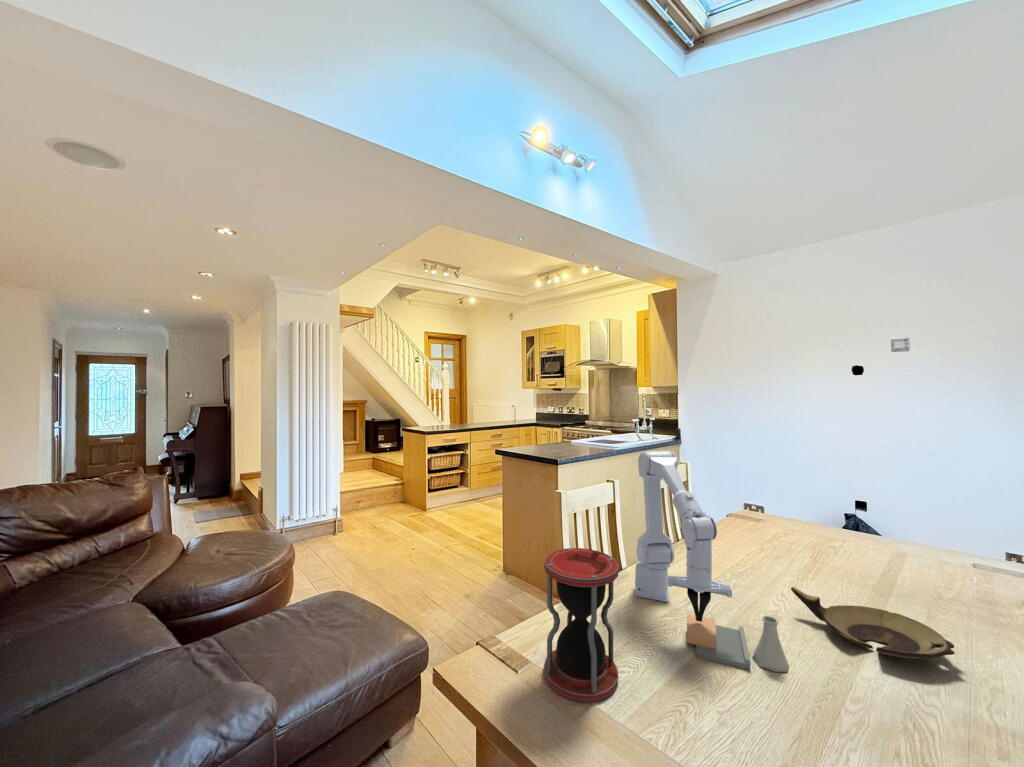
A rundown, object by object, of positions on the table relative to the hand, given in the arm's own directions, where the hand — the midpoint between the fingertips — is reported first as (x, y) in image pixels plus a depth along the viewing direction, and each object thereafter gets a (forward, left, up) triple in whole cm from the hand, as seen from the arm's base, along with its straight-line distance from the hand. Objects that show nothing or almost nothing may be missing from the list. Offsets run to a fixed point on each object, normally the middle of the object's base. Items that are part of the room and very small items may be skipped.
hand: (698, 619), depth 103 cm
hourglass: (-24, -24, -6) cm, 34 cm away
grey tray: (+5, 0, -5) cm, 7 cm away
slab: (-3, 0, -3) cm, 4 cm away
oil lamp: (+39, +19, -6) cm, 44 cm away
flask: (+15, -2, -6) cm, 16 cm away
